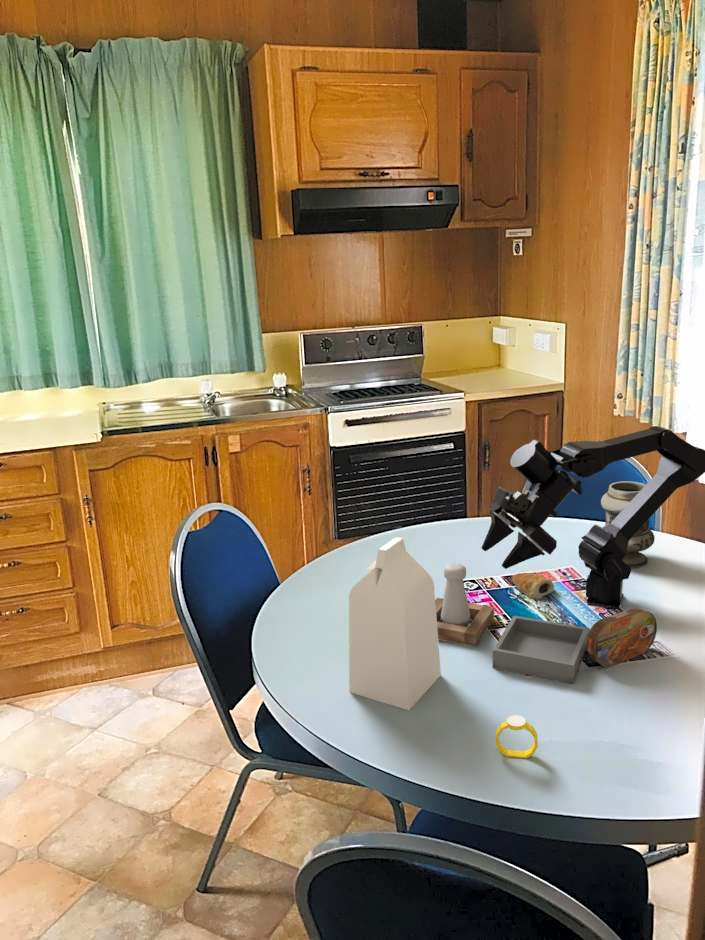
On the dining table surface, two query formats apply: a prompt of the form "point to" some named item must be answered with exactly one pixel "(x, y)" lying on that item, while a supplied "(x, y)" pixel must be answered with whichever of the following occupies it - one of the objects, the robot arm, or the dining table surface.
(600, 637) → the tin
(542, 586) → the pastry
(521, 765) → the dining table surface
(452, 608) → the salt shaker
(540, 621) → the bin
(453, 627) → the brown flat square frame
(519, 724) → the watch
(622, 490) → the apothecary jar
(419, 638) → the milk
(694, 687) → the dining table surface
